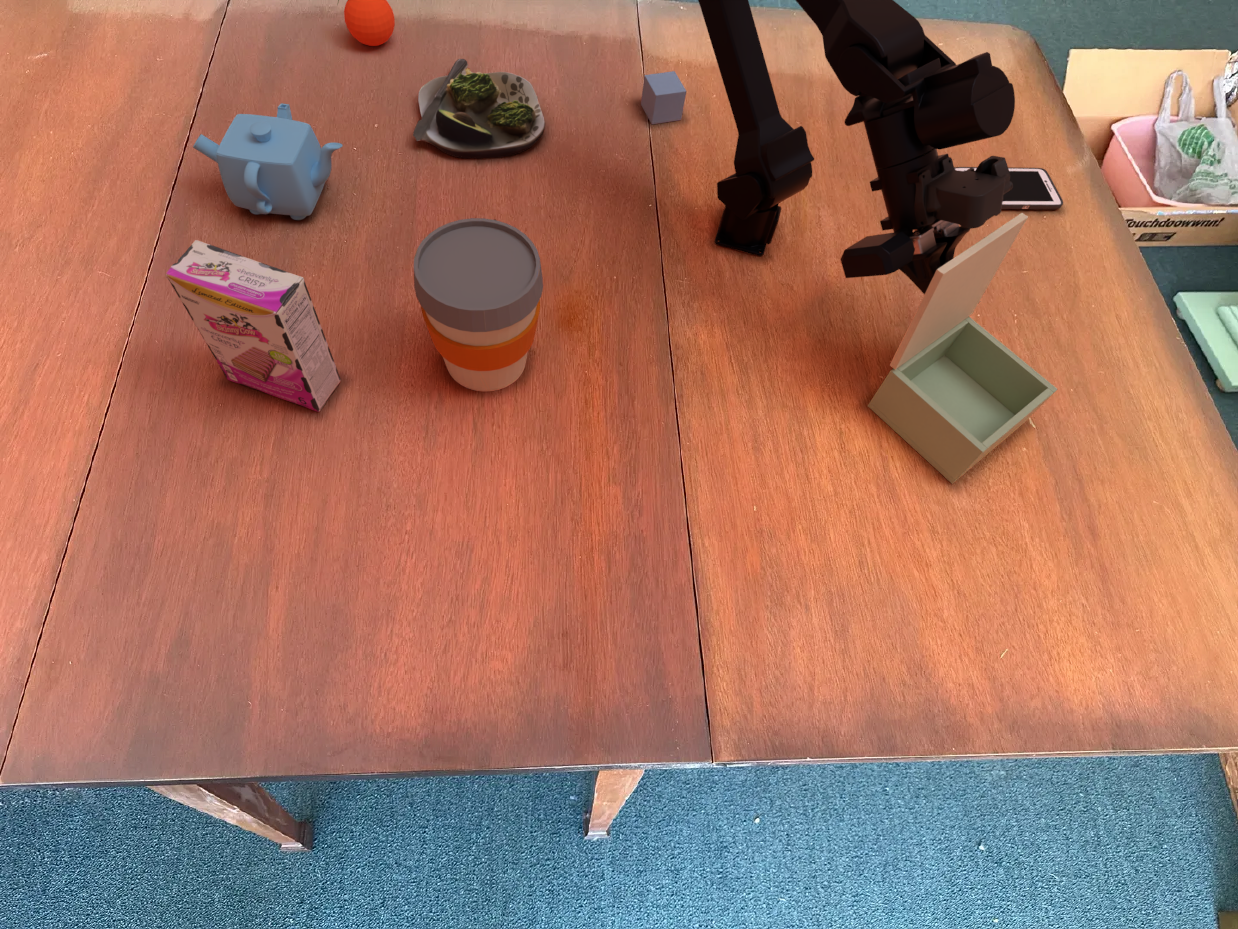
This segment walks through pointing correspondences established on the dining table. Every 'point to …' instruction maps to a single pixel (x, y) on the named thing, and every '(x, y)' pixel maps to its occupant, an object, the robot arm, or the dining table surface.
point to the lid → (957, 290)
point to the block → (663, 97)
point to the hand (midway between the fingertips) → (941, 304)
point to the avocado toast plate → (479, 113)
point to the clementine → (369, 20)
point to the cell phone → (1029, 189)
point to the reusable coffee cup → (480, 299)
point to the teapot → (271, 163)
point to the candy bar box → (257, 324)
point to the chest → (960, 398)
